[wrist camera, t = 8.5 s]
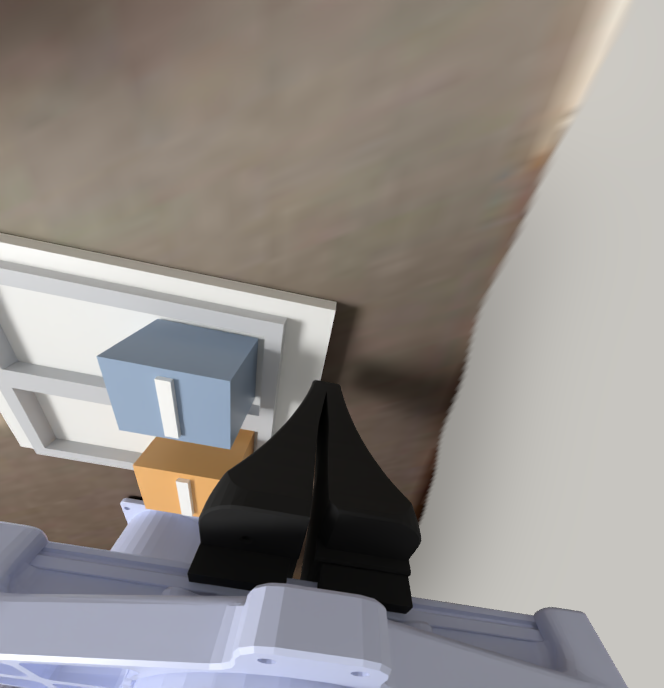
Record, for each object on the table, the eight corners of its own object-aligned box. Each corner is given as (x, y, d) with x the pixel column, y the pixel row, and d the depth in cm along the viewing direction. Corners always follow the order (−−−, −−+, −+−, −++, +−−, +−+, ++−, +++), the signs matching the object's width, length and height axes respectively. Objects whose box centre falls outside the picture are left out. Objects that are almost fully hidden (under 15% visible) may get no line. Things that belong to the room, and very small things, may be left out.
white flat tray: (298, 477, 20) (294, 503, 19) (38, 433, 19) (8, 456, 18) (336, 301, 13) (334, 317, 11) (-78, 216, 12) (-150, 219, 10)
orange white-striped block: (252, 467, 18) (231, 526, 15) (180, 455, 18) (143, 512, 14) (254, 428, 16) (231, 486, 13) (174, 414, 16) (129, 468, 13)
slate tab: (254, 398, 15) (228, 453, 12) (167, 382, 15) (115, 433, 11) (258, 338, 13) (228, 384, 10) (157, 318, 13) (91, 359, 9)
